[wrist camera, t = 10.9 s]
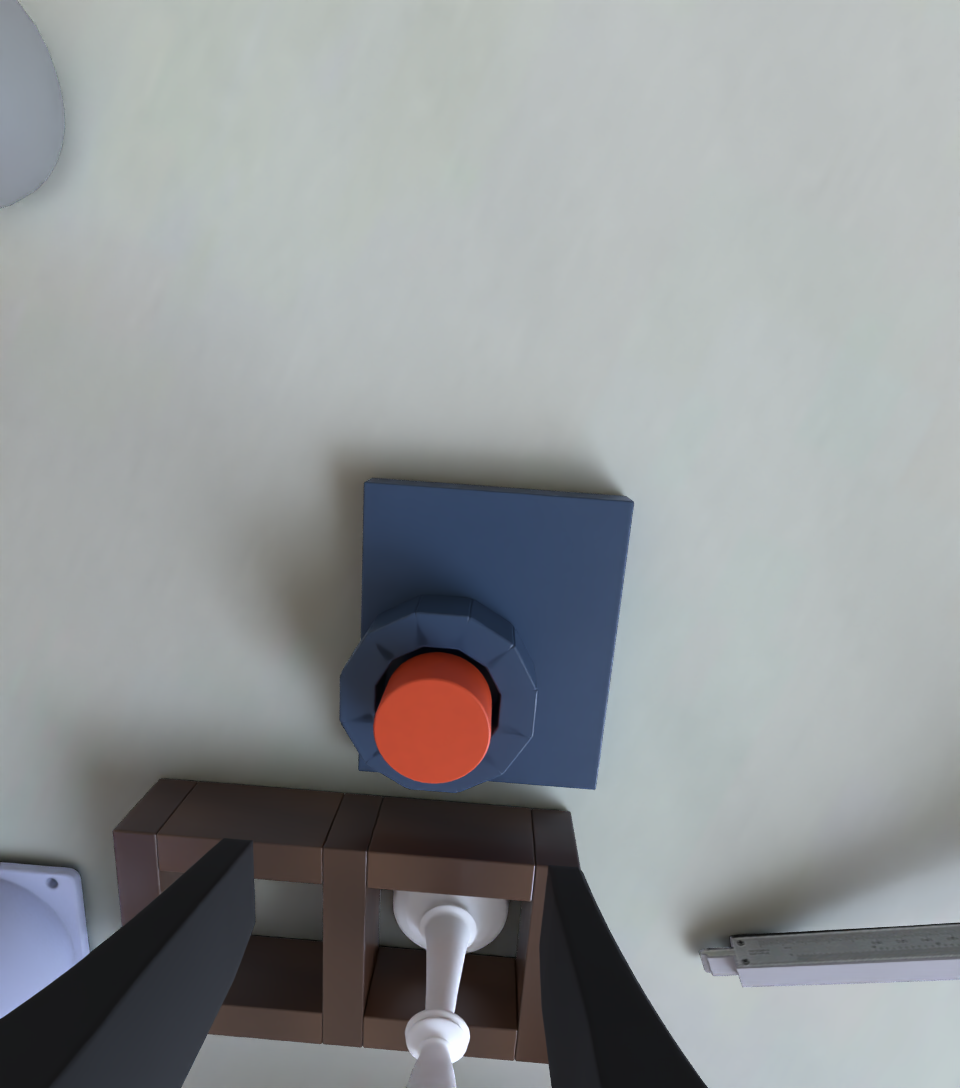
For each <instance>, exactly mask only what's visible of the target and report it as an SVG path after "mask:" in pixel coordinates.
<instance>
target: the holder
mask: <svg viewBox="0 0 960 1088" xmlns="http://www.w3.org/2000/svg"><path fill="white" fill-rule="evenodd" d="M223 838H229V839H241V840H253V857H254V879H265V880H277V881H289V882H301V883H313V884H322V883H323V941H312V940H300V939H288V938H276V937H265V936H253V935H251V936H250V939H249V941H248V944H247V947H246V950H245V952H244V955H243V958H242V960H241V963H240V965H239V968H238V971H237V973H236V976H235V978H234V981H233V983H232V985H231V987H230V989H229V991H228V993H227V995H226V997H225V999H224V1001H223V1004H222V1006H221V1008H220V1010H219V1012H218V1014H217V1016H216V1018H215V1020H214V1022H213V1024H212V1026H211V1028H210V1030H209V1032H208V1034H213V1035H224V1036H235V1037H247V1038H258V1039H269V1040H281V1041H292V1042H303V1043H315V1044H322V1043H323V1044H328V1045H339V1046H350V1047H362V1046H363V1047H364V1048H374V1049H385V1050H397V1051H408V1052H409V1050H408V1048H407V1045H406V1037H405V1029H406V1025H407V1023H408V1022H409V1020H410V1019H411V1018H412V1017H413V1016H414V1015H415V1014H417V1013H419V1012H421V1011H423V1010H425V1004H426V950H415V949H403V948H391V947H379V920H380V889H386V890H398V891H410V892H422V893H434V894H446V895H458V896H470V897H482V898H494V899H506V900H518V901H522V904H521V914H520V923H519V933H518V942H517V952H516V960H515V958H509V957H497V956H485V955H474V954H465V958H464V963H463V968H462V973H461V978H460V983H459V988H458V994H457V1000H456V1006H455V1012H454V1013H455V1014H457V1015H458V1016H460V1017H461V1018H462V1019H463V1020H464V1021H465V1023H466V1024H467V1026H468V1028H469V1032H470V1040H469V1043H468V1046H467V1049H466V1052H465V1053H464V1055H463V1056H465V1057H476V1058H488V1059H499V1060H510V1061H513V1060H514V1059H515V1060H516V1061H522V1062H533V1063H545V1064H549V1063H548V1055H547V1047H546V1039H545V1031H544V1023H543V1015H542V1007H541V984H540V957H539V943H540V934H541V925H542V917H543V908H544V899H545V891H546V882H547V873H548V865H556V866H568V867H579V869H580V870H581V868H580V863H579V857H578V851H577V846H576V840H575V834H574V829H573V823H572V817H571V813H570V812H569V811H559V810H547V809H534V808H533V809H532V810H531V809H530V808H522V807H510V806H497V805H485V804H473V803H460V802H448V801H436V800H423V799H411V798H399V797H386V796H385V797H384V798H383V796H375V795H362V794H350V793H345V794H344V793H338V792H326V791H313V790H301V789H289V788H276V787H264V786H252V785H239V784H227V783H215V782H202V781H199V782H197V781H187V780H175V779H163V778H161V779H159V780H158V781H157V782H156V784H155V785H154V786H153V787H152V788H151V789H150V790H149V791H148V792H147V793H146V794H145V796H144V797H143V798H142V799H141V800H140V801H139V802H138V803H137V804H136V805H135V807H134V808H133V809H132V810H131V811H130V812H129V813H128V814H127V815H126V816H125V818H124V819H123V820H122V821H121V822H120V823H119V824H118V825H117V826H116V827H115V828H114V830H113V840H114V850H115V860H116V870H117V880H118V890H119V900H120V910H121V920H122V927H123V926H124V925H125V924H126V923H127V922H129V921H130V920H131V919H132V918H133V917H134V916H136V915H137V914H138V913H139V912H140V911H141V910H143V909H144V908H145V907H146V906H147V905H148V904H150V903H151V902H152V901H153V900H154V899H155V898H156V897H158V896H159V895H160V894H161V893H162V892H163V891H165V890H166V889H167V888H168V887H169V886H170V885H171V884H172V883H174V882H175V881H176V880H177V879H178V878H179V877H180V876H181V875H182V874H184V873H185V872H186V871H187V870H188V869H189V868H190V867H191V866H192V865H194V864H195V863H196V862H197V861H198V860H199V859H200V858H201V857H202V856H204V855H205V854H206V853H207V852H208V851H209V850H210V849H211V848H213V847H214V846H215V845H216V844H217V843H218V842H220V841H221V840H222V839H223Z"/></svg>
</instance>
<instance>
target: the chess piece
mask: <svg viewBox="0 0 960 1088" xmlns="http://www.w3.org/2000/svg"><path fill="white" fill-rule="evenodd" d="M509 901H510V900H506V899H494V898H482V897H470V896H458V895H446V894H434V893H422V892H410V891H398V890H393V911H394V916H395V919H396V921H397V923H398V925H399V927H400V929H401V930H402V931H403V933H404V934H405V935H406V936H407V937H408V938H409V939H410V940H411V941H413V942H414V943H415V944H417V945H418V946H420V947H422V948H424V949H426V1004H425V1010H423V1011H421V1012H419V1013H417V1014H415V1015H414V1016H413V1017H412V1018H411V1019H410V1020H409V1022H408V1023H407V1025H406V1029H405V1037H406V1045H407V1048H408V1050H409V1052H410V1053H411V1054H412V1055H413V1056H414V1057H415V1058H416V1059H417V1062H416V1064H415V1066H414V1068H413V1070H412V1073H411V1077H410V1079H409V1082H408V1084H407V1086H406V1088H457V1087H456V1081H455V1073H454V1069H453V1065H452V1063H454V1062H456V1061H457V1060H459V1059H460V1058H461V1057H462V1056H463V1055H464V1053H465V1052H466V1049H467V1046H468V1043H469V1040H470V1032H469V1028H468V1026H467V1024H466V1023H465V1021H464V1020H463V1019H462V1018H461V1017H460V1016H458V1015H457V1014H455V1013H454V1012H455V1006H456V1000H457V994H458V988H459V983H460V978H461V973H462V968H463V963H464V958H465V954H466V953H470V952H474V951H476V950H479V949H481V948H483V947H485V946H486V945H488V944H489V943H490V942H492V941H493V940H494V939H495V938H496V937H497V936H498V935H499V933H500V932H501V930H502V929H503V927H504V925H505V922H506V919H507V915H508V907H509Z"/></svg>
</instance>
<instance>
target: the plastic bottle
mask: <svg viewBox="0 0 960 1088" xmlns="http://www.w3.org/2000/svg"><path fill="white" fill-rule="evenodd" d="M64 132H65V110H64V104H63V98H62V93H61V88H60V84H59V80H58V77H57V73H56V70H55V67H54V65H53V62H52V59H51V56H50V53H49V50H48V48H47V46H46V44H45V42H44V40H43V38H42V36H41V34H40V32H39V31H38V29H37V27H36V25H35V24H34V22H33V21H32V20H31V18H30V17H29V15H28V14H27V13H26V11H25V10H24V9H23V7H22V6H21V5H20V3H19V2H18V1H17V0H0V208H4V207H7V206H10V205H13V204H14V203H16V202H18V201H19V200H21V199H23V198H24V197H26V196H27V195H29V194H31V193H32V192H34V191H35V190H37V189H38V188H39V187H40V186H41V185H42V184H43V183H44V182H45V181H46V180H47V178H48V177H49V175H50V174H51V172H52V170H53V169H54V167H55V165H56V164H57V161H58V158H59V155H60V152H61V149H62V145H63V139H64Z"/></svg>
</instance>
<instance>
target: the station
mask: <svg viewBox="0 0 960 1088" xmlns="http://www.w3.org/2000/svg"><path fill="white" fill-rule="evenodd" d="M633 507H634V502H633V501H632V500H631V499H629V498H628V497H626V496H618V495H604V494H590V493H577V492H563V491H549V490H535V489H521V488H507V487H493V486H479V485H466V484H452V483H438V482H424V481H410V480H396V479H382V478H371V479H369V480H367V481H366V482H364V504H363V555H362V606H361V641H360V643H359V644H358V646H357V647H356V648H355V650H354V652H353V653H352V655H351V657H350V658H349V660H348V662H347V663H346V665H345V667H344V668H343V670H342V672H341V675H340V722H341V724H342V726H343V728H344V729H345V731H346V733H347V734H348V736H349V738H350V739H351V741H352V743H353V744H354V746H355V748H356V749H357V751H358V753H359V759H358V770H359V771H369V772H380V773H381V774H383V775H385V776H386V777H388V778H390V779H392V780H393V781H395V782H397V783H398V784H400V785H402V786H403V787H405V788H408V789H412V790H425V791H437V792H449V793H457V792H461V791H464V790H466V789H469V788H471V787H474V786H476V785H478V784H481V783H483V782H486V781H493V782H505V783H518V784H530V785H543V786H555V787H568V788H580V789H593V790H595V789H596V784H597V776H598V769H599V761H600V754H601V746H602V739H603V731H604V724H605V716H606V709H607V702H608V694H609V687H610V679H611V672H612V664H613V657H614V649H615V642H616V634H617V627H618V619H619V612H620V604H621V597H622V589H623V582H624V574H625V567H626V559H627V552H628V544H629V537H630V529H631V522H632V514H633ZM429 652H444V653H450V654H453V655H456V656H459V657H461V658H463V659H465V660H467V661H468V662H470V663H471V664H473V665H474V666H475V667H476V668H477V669H478V670H479V671H480V672H481V674H482V675H483V676H484V678H485V679H486V681H487V683H488V686H489V688H490V692H491V698H492V714H491V739H490V744H489V747H488V750H487V752H486V754H485V756H484V758H483V759H482V761H481V762H480V763H479V764H478V765H477V767H476V768H474V769H473V770H472V771H471V772H469V773H468V774H466V775H465V776H463V777H461V778H459V779H456V780H453V781H450V782H445V783H423V782H419V781H415V780H412V779H409V778H407V777H405V776H403V775H401V774H400V773H398V772H397V771H395V770H394V769H393V768H392V767H391V766H390V765H389V764H388V763H387V762H386V761H385V760H384V758H383V757H382V755H381V754H380V752H379V750H378V748H377V745H376V742H375V738H374V732H373V724H374V718H375V714H376V711H377V709H378V706H379V704H380V701H381V699H382V696H383V694H384V691H385V689H386V686H387V684H388V681H389V679H390V677H391V676H392V674H393V673H394V671H395V670H396V669H397V668H398V667H399V666H400V665H401V664H402V663H404V662H405V661H407V660H408V659H410V658H412V657H414V656H417V655H420V654H424V653H429Z"/></svg>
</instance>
